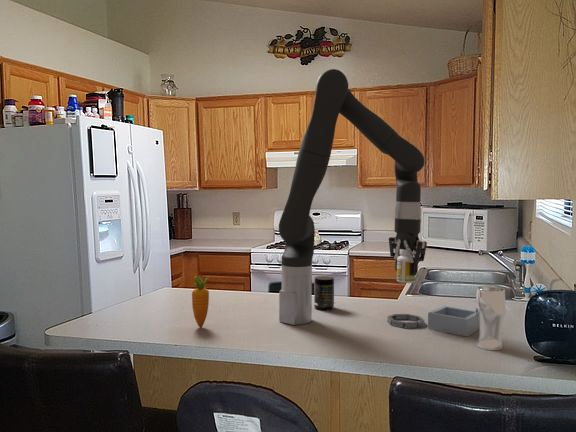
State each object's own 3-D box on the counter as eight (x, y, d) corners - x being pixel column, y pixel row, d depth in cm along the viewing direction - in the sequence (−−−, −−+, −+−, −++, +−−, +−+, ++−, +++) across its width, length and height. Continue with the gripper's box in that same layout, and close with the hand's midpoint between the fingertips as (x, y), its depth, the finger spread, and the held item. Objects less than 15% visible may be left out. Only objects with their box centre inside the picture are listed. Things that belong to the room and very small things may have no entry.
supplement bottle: (417, 281, 141) (418, 249, 141) (412, 284, 137) (413, 251, 136) (399, 279, 144) (400, 247, 143) (394, 282, 139) (395, 249, 139)
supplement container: (338, 309, 157) (338, 278, 157) (321, 311, 154) (321, 280, 153) (326, 305, 163) (326, 275, 162) (310, 307, 160) (310, 277, 159)
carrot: (212, 326, 137) (212, 275, 136) (204, 330, 132) (203, 278, 132) (197, 324, 139) (197, 274, 138) (188, 329, 134) (188, 277, 133)
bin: (466, 336, 128) (467, 319, 128) (427, 328, 136) (428, 312, 135) (481, 327, 137) (481, 312, 136) (443, 320, 144) (444, 305, 144)
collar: (413, 330, 134) (413, 324, 134) (382, 323, 140) (382, 318, 140) (428, 322, 141) (428, 317, 141) (398, 316, 148) (398, 312, 148)
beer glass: (502, 352, 115) (503, 292, 114) (472, 347, 119) (473, 289, 118) (505, 345, 121) (507, 287, 120) (477, 340, 125) (478, 284, 124)
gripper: (382, 215, 144) (380, 270, 145) (415, 218, 131) (414, 278, 132) (400, 215, 147) (399, 269, 148) (435, 218, 135) (433, 276, 136)
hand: (406, 273), depth 140 cm, fingers closed on supplement bottle, 5 cm apart
